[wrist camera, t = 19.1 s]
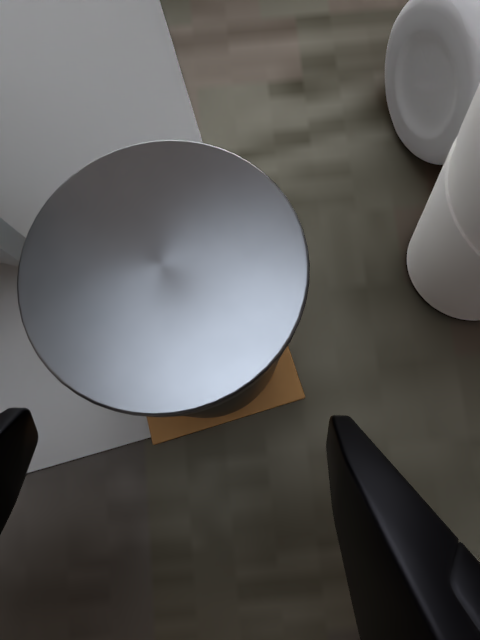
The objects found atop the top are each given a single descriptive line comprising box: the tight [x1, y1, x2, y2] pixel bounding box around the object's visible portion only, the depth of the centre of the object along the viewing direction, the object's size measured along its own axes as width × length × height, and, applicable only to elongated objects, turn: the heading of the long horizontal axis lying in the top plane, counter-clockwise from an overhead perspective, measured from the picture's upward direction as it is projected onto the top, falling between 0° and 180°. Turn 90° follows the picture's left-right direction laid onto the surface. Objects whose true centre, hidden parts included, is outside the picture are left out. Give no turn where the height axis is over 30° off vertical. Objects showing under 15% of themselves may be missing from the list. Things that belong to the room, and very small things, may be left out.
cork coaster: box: [146, 346, 305, 445], centre depth 16 cm, size 6×6×1 cm
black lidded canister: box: [17, 140, 310, 418], centre depth 12 cm, size 6×6×8 cm
